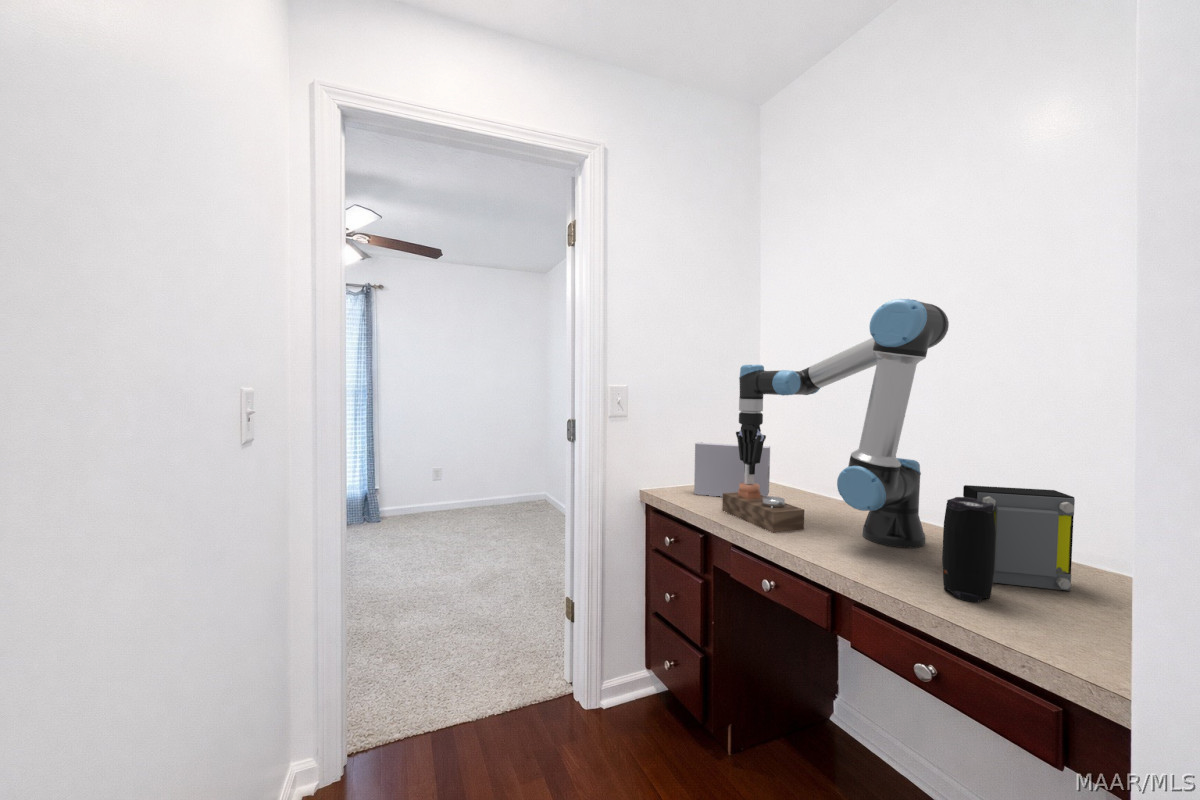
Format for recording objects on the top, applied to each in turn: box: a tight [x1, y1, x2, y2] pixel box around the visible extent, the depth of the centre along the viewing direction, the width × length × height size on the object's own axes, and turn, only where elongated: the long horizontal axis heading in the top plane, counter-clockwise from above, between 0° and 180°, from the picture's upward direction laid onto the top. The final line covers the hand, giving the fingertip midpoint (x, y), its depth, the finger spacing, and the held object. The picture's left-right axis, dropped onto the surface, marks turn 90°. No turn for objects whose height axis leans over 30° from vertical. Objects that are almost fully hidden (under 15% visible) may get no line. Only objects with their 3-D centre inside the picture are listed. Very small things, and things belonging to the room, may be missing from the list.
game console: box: [693, 441, 771, 498], centre depth 188 cm, size 6×27×20 cm, turn 67°
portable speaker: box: [941, 496, 996, 603], centre depth 102 cm, size 9×9×20 cm
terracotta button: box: [738, 483, 760, 499], centre depth 162 cm, size 6×6×6 cm
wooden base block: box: [721, 492, 805, 534], centre depth 157 cm, size 26×11×6 cm, turn 19°
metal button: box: [762, 495, 786, 508], centre depth 151 cm, size 6×6×6 cm
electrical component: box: [962, 484, 1076, 592], centre depth 109 cm, size 18×10×20 cm, turn 73°
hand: (749, 483), depth 162 cm, fingers closed
